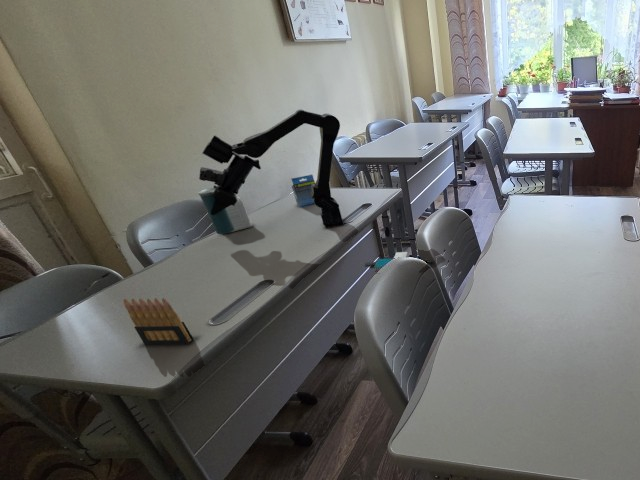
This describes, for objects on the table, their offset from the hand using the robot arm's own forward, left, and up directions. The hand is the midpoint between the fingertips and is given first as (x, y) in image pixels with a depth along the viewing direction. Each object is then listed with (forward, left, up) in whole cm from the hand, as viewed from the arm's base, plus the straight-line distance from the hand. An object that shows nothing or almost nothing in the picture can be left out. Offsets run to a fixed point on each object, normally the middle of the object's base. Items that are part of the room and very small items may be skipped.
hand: (212, 212), depth 130 cm
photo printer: (-1, -18, -13) cm, 22 cm away
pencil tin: (-1, 0, -7) cm, 7 cm away
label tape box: (-27, -36, -13) cm, 47 cm away
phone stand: (-50, +41, -13) cm, 67 cm away
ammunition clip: (+6, +54, -13) cm, 56 cm away
